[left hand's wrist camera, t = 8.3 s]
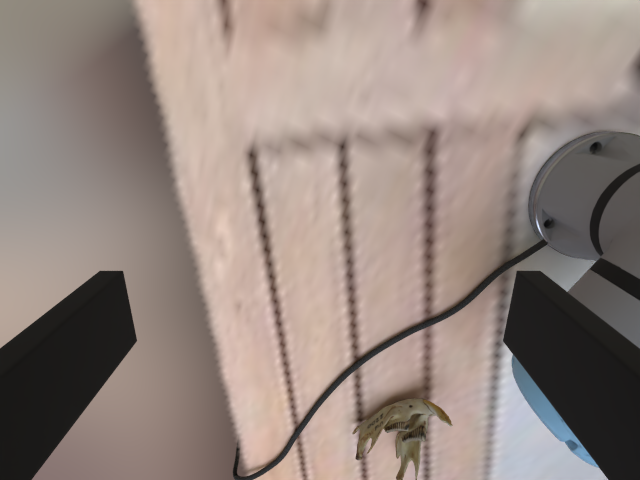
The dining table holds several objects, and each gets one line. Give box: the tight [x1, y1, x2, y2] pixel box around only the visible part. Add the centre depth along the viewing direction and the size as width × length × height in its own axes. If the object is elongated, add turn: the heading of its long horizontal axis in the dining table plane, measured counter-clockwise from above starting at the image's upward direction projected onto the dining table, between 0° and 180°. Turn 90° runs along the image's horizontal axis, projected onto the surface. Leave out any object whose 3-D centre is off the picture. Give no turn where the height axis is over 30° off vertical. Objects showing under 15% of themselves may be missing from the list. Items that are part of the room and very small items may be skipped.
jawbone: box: [352, 398, 453, 480], centre depth 54 cm, size 9×15×10 cm
